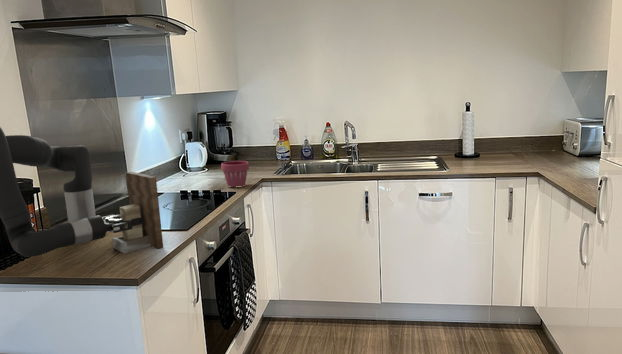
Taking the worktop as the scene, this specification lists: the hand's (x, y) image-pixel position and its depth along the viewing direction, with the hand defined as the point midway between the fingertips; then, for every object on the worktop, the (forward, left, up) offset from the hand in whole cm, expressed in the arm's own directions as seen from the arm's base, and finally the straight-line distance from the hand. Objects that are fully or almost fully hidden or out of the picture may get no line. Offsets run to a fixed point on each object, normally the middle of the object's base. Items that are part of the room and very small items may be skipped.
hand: (136, 218), depth 161 cm
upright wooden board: (0, -2, -9) cm, 10 cm away
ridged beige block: (0, -2, -9) cm, 10 cm away
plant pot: (-51, +79, -10) cm, 94 cm away
